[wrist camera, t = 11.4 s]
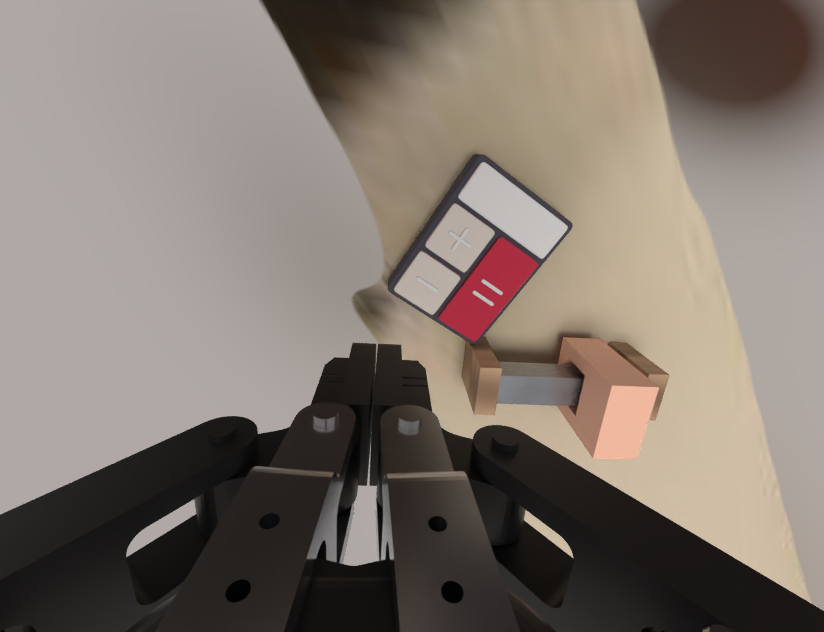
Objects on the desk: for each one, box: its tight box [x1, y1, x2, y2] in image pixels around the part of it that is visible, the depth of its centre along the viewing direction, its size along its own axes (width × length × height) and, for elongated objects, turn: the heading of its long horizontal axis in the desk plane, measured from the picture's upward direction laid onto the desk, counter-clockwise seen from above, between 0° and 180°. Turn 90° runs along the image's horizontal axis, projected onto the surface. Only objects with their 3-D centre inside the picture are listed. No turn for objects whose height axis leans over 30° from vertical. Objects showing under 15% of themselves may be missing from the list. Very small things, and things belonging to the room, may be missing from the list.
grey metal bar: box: [497, 362, 585, 406], centre depth 40 cm, size 3×16×3 cm, turn 86°
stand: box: [462, 337, 669, 420], centre depth 42 cm, size 5×18×8 cm, turn 86°
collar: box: [557, 337, 659, 459], centre depth 39 cm, size 7×4×10 cm, turn 176°
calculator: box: [388, 154, 572, 344], centre depth 39 cm, size 11×4×15 cm
